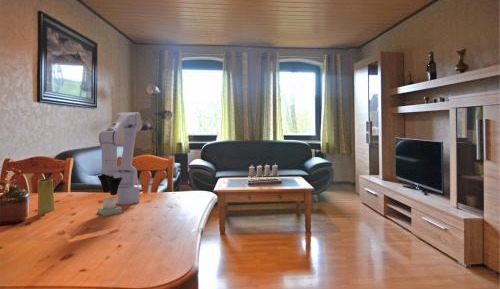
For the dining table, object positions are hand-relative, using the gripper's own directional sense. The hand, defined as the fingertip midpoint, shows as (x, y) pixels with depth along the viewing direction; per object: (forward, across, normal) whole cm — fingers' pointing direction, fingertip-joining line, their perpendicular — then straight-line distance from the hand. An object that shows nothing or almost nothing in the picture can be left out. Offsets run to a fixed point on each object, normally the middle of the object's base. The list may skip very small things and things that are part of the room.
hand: (109, 193), depth 129 cm
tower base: (+10, 0, 0) cm, 10 cm away
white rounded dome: (+6, 0, 0) cm, 6 cm away
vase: (+10, -21, -18) cm, 29 cm away
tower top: (+8, 0, 0) cm, 8 cm away
